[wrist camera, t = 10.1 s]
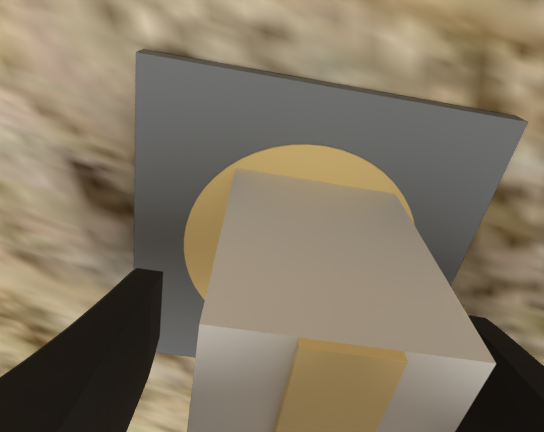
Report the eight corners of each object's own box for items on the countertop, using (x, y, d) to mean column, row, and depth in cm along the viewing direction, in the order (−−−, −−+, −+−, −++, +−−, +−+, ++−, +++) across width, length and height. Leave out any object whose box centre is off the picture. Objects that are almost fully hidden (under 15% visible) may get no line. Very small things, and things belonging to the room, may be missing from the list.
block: (353, 315, 14) (405, 530, 8) (218, 296, 13) (177, 506, 8) (395, 193, 12) (502, 373, 6) (235, 167, 11) (196, 334, 6)
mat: (400, 370, 16) (405, 386, 15) (137, 336, 15) (132, 351, 15) (516, 116, 11) (530, 123, 11) (143, 49, 10) (134, 53, 10)
